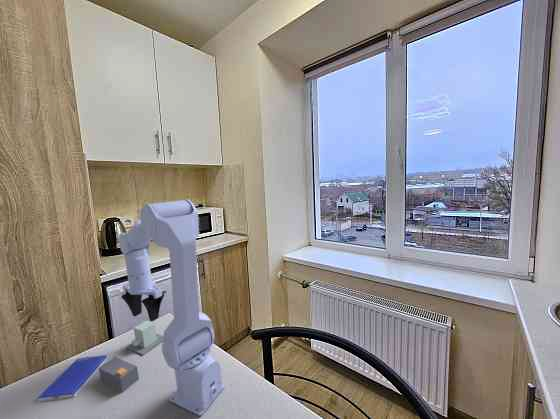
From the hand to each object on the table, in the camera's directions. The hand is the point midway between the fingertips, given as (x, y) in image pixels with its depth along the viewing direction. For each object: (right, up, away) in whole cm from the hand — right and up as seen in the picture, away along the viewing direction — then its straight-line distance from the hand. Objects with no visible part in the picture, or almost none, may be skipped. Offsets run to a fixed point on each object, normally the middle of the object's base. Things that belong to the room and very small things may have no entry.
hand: (145, 317), depth 71 cm
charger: (-2, -9, +3) cm, 10 cm away
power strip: (-1, -11, -10) cm, 15 cm away
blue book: (-13, -13, -8) cm, 20 cm away
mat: (-2, -10, +4) cm, 10 cm away
